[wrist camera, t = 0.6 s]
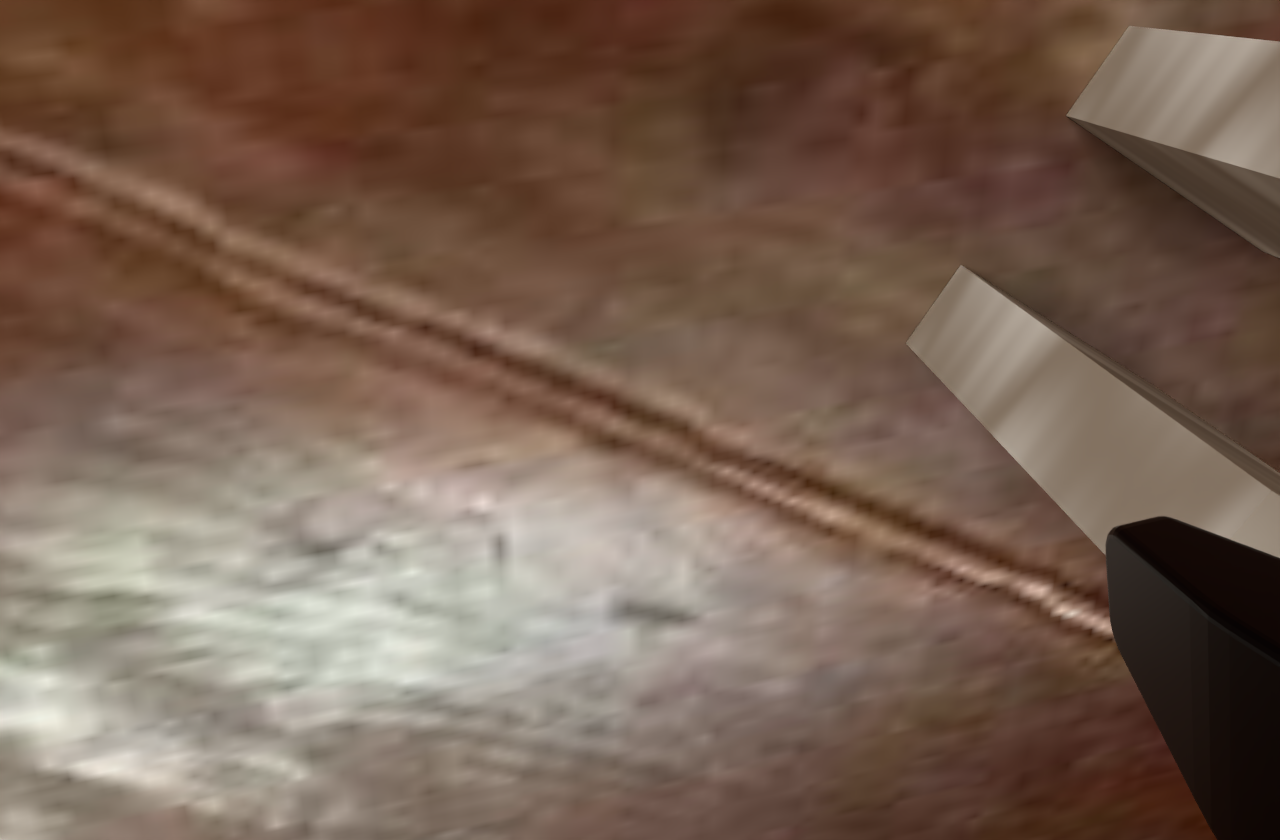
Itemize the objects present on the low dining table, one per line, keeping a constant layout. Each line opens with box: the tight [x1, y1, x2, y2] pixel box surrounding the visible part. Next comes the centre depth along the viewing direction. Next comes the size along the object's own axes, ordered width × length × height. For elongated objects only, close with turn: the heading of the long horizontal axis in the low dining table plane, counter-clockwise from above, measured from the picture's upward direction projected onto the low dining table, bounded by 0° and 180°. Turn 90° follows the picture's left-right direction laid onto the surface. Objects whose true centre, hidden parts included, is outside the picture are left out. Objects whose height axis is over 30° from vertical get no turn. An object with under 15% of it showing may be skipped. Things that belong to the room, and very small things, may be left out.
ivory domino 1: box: [906, 265, 1280, 558], centre depth 18 cm, size 2×5×10 cm, turn 59°
